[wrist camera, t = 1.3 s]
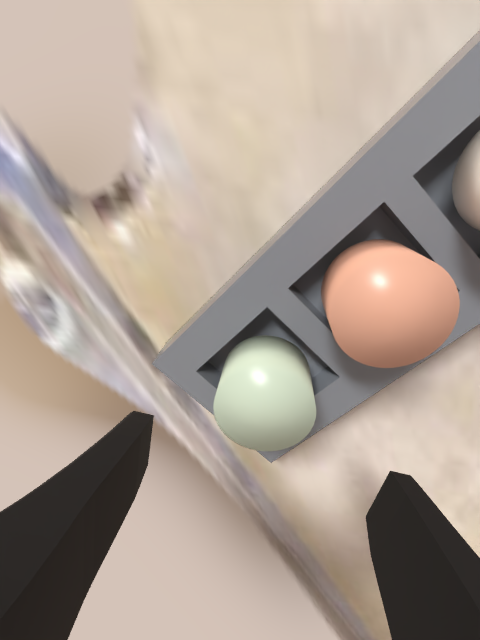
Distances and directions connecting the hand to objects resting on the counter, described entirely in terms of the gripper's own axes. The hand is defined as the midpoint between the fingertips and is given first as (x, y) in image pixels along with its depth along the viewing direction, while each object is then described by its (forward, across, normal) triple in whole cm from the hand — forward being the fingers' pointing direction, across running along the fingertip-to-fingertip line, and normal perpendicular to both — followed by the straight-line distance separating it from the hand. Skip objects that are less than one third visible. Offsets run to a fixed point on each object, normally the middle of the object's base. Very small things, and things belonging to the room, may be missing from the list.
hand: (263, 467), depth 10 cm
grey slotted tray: (+10, -4, -4) cm, 11 cm away
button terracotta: (+7, -4, -4) cm, 9 cm away
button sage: (+7, 0, +1) cm, 7 cm away
